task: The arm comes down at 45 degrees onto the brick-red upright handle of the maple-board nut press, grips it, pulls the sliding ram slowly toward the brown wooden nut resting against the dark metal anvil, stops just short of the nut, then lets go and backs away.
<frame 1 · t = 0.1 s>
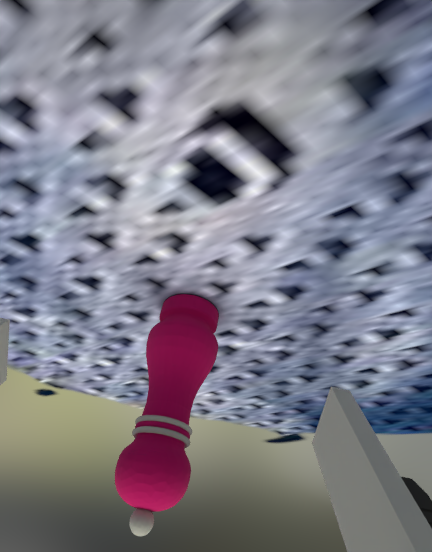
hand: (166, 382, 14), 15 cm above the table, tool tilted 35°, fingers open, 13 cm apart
pepper mill: (191, 309, 38), on the table
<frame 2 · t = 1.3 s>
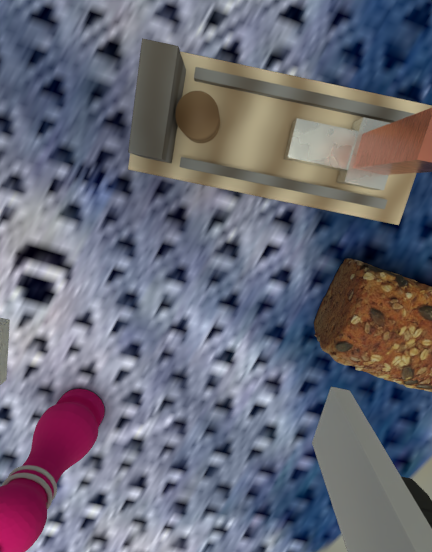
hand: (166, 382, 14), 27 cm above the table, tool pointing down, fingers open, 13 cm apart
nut: (200, 122, 35), point 2 cm above the table, touching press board
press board: (276, 141, 37), on the table
pepper mill: (82, 407, 46), on the table
carriage: (361, 142, 28), point 9 cm above the table, slide at 0.0 cm
bread: (393, 313, 42), on the table
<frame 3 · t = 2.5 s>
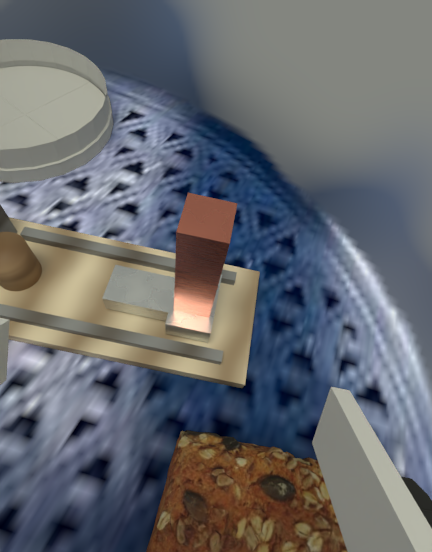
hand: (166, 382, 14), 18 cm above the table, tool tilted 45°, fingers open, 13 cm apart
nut: (19, 272, 33), point 2 cm above the table, touching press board
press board: (105, 297, 34), on the table
dish: (29, 125, 46), on the table
carriage: (161, 265, 27), point 9 cm above the table, slide at 0.0 cm
bread: (272, 534, 27), on the table
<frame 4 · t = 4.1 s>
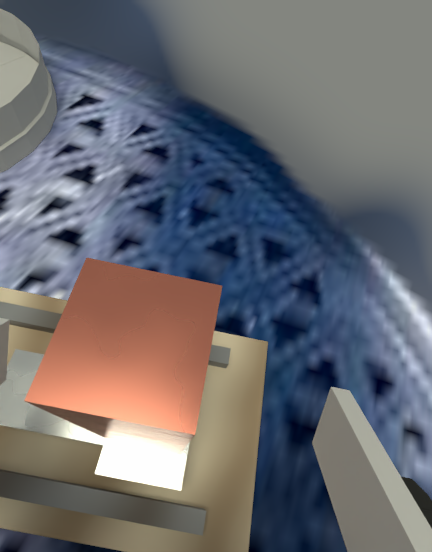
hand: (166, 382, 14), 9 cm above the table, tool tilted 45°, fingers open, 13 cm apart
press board: (11, 394, 21), on the table
carriage: (73, 381, 13), point 9 cm above the table, slide at 0.0 cm
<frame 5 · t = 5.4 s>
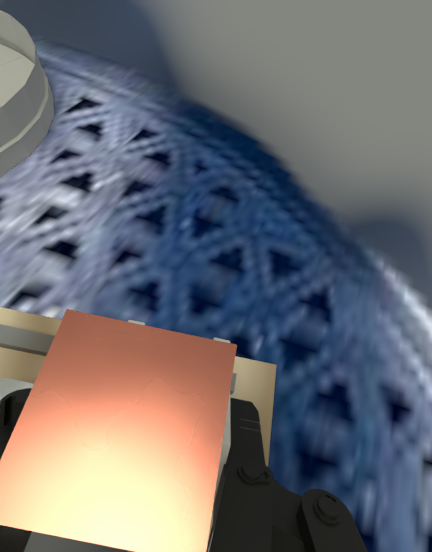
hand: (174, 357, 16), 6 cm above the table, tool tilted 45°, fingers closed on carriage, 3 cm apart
carriage: (61, 427, 11), point 9 cm above the table, slide at 0.0 cm, touching gripper
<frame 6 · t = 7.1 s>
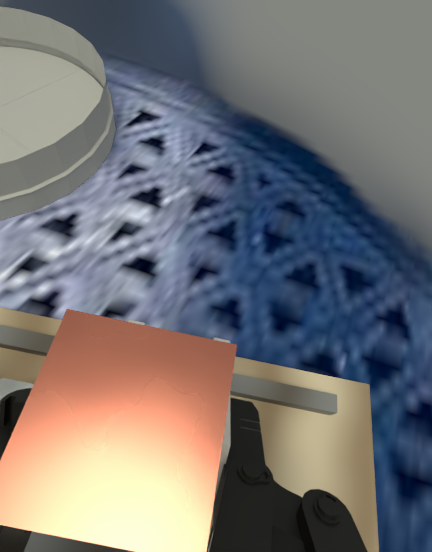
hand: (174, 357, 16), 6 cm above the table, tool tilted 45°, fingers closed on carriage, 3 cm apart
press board: (102, 443, 19), on the table
carriage: (61, 427, 11), point 9 cm above the table, slide at 5.9 cm, touching gripper
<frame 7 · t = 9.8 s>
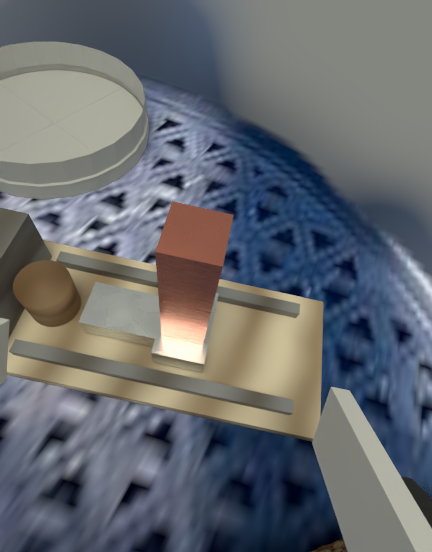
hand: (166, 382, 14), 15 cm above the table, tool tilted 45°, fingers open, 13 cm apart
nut: (56, 304, 29), point 2 cm above the table, touching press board
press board: (151, 332, 30), on the table
dish: (58, 134, 42), on the table
carriage: (145, 286, 23), point 9 cm above the table, slide at 5.9 cm
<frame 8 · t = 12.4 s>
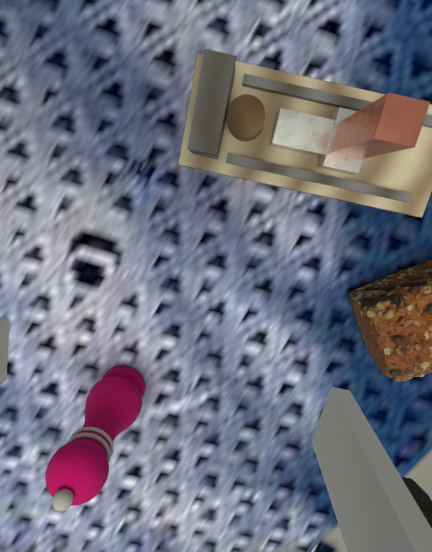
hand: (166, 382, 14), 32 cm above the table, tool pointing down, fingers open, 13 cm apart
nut: (245, 122, 39), point 2 cm above the table, touching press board
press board: (311, 140, 41), on the table
pepper mill: (124, 383, 50), on the table
carriage: (334, 127, 32), point 9 cm above the table, slide at 5.9 cm
bread: (420, 296, 45), on the table
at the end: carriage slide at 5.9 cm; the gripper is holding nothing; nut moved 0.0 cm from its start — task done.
